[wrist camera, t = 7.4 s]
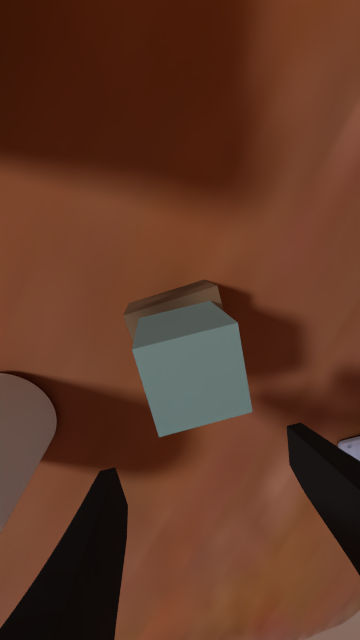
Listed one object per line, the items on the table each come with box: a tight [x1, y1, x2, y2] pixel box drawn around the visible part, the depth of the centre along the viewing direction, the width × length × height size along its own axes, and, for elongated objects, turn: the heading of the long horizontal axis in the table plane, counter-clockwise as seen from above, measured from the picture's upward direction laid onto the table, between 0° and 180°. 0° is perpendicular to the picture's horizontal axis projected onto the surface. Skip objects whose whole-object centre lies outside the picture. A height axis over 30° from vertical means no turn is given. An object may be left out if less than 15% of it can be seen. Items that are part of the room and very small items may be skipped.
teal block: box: [132, 301, 252, 437], centre depth 13 cm, size 4×4×5 cm
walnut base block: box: [123, 280, 224, 343], centre depth 17 cm, size 6×6×4 cm
